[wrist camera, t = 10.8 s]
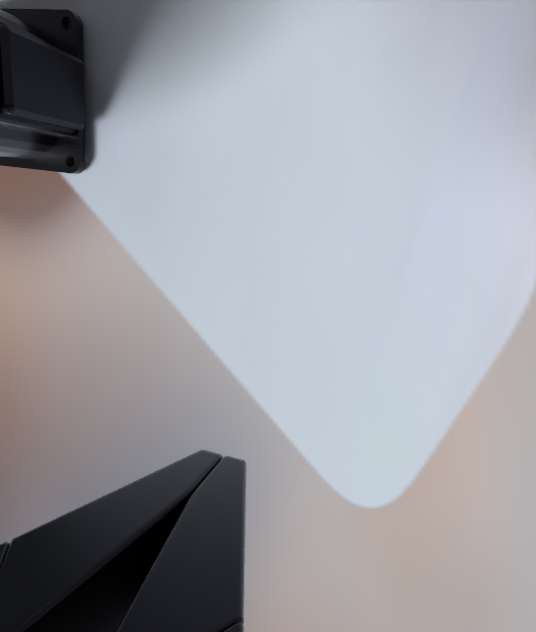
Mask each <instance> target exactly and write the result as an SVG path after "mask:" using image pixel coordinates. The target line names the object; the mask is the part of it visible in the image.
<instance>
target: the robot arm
mask: <svg viewBox="0 0 536 632" xmlns="http://www.w3.org/2000/svg"><path fill="white" fill-rule="evenodd" d="M70 21H71V23H72V25H71V28H70V29H69V30H68V23H69V22H70ZM72 158H74V160H75V165H74V166H73V165H72V162H71V161H72ZM0 165H3V166H11V167H21V168H30V169H38V170H47V171H56V172H65V173H75V174H78V173H81V172H82V171H83V170H84V168H85V93H84V56H83V24H82V21H81V19H80V17H78V16H77V15H76V14H74V13H73V12H71V11H69V10H50V9H0ZM245 513H246V462H245V461H244V460H241V459H237V458H234V457H229V456H225V457H223V456H222V455H221V454H218V453H214V452H211V451H207V450H201V451H198V452H196V453H194V454H191V455H189V456H187V457H185V458H183V459H181V460H179V461H177V462H174V463H173V464H170V465H168V466H166V467H164V468H162V469H160V470H157V471H155V472H153V473H151V474H149V475H147V476H145V477H143V478H141V479H138V480H136V481H134V482H132V483H130V484H128V485H126V486H124V487H122V488H119V489H117V490H115V491H113V492H111V493H109V494H107V495H104V496H102V497H100V498H98V499H96V500H94V501H92V502H90V503H88V504H85V505H83V506H81V507H79V508H77V509H75V510H73V511H70V512H68V513H66V514H64V515H62V516H60V517H58V518H56V519H54V520H51V521H49V522H47V523H45V524H43V525H41V526H39V527H37V528H34V529H32V530H30V531H28V532H26V533H24V534H22V535H20V536H17V537H15V538H13V539H12V540H11V542H10V544H9V543H8V542H4V543H2V544H0V632H244V627H243V623H244V577H245V515H246V514H245Z"/></svg>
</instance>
